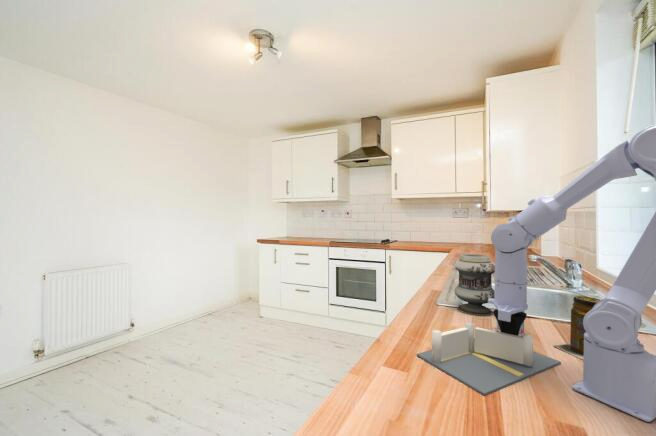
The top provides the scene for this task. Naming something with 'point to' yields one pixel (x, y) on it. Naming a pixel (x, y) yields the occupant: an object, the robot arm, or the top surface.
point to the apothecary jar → (475, 283)
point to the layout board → (489, 369)
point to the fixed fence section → (452, 342)
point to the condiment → (578, 326)
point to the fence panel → (505, 346)
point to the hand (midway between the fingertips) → (509, 346)
